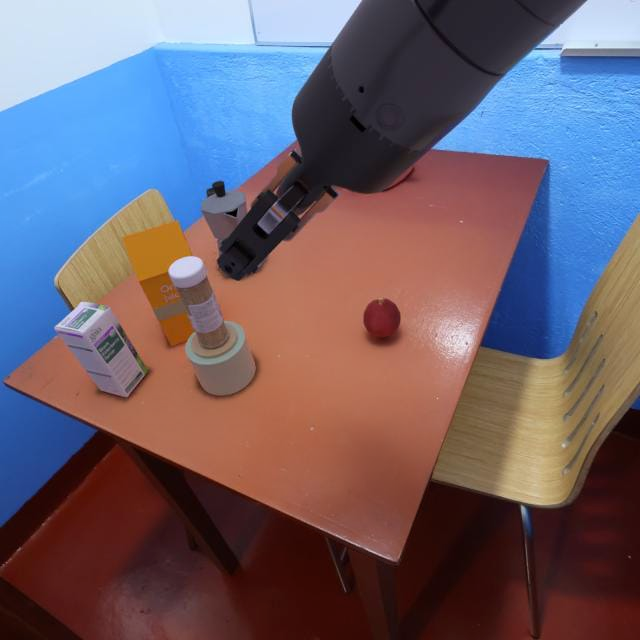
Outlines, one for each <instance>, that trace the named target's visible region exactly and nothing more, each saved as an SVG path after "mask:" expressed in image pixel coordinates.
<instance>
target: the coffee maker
mask: <svg viewBox="0 0 640 640" xmlns="http://www.w3.org/2000/svg"><path fill="white" fill-rule="evenodd" d="M205 192H206V197H205V198H204V199H202V200H201V207H200V212H201V213H202V216H203V217H204V219H205V221H206V223H207V225H208V227H209V230H210V231H211V234H212V236H213V238H214V239H217V240H216V243H217V244H216V245H217V249H218V257H219V256H220V255H221V254H222V252H221V251H220V250H219V248H220V247H221V246H222V244H221V242H222V241H223V240H224V239H225V238H228V237H229V236H230V234H231V233H232V232H233V231H234V229H235V228H236V227H237V226H238V224H239V223H240V222H241V220H242V219H243V218H244V217H245V215H246V214H247V213H248V207H247V199H246V198H247V197H246V192H243V191H239V190H236V189H227V190H226V187H225V181H223V180H218V181H215V182H213V183H211V187H209V188H207V189H206V191H205ZM263 263H264V261H262V262H261V263H260V264H259V265H258V266H257V267H259V268H258V269H257V270H256V272H255V273H257V272H259V270H260V268H261V267H262V265H263ZM221 271H222V272H223V274H224V276H226V277H227V278H230V277H229V276H228V275H227V274H226V273H225V272H224V271H223V270H221ZM252 274H254V273H253V272H251V274H250V275H252ZM245 277H248V276H247V275H245V276H244V277H243V278H245Z"/></svg>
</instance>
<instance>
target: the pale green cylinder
mask: <svg viewBox="0 0 640 640" xmlns="http://www.w3.org/2000/svg"><path fill="white" fill-rule="evenodd" d="M223 321H224V323H225V326H226V328H227V329H228V332H229V338H228V340H227V341H226V342H225V343H224V344H223V345H221V346H219V347H216V348H212V349H209V348H204V347H203V346H201V345H200V343H199V339H198V336H197V334H196V332H194V333H193V334H192V335H191V336H190V337H189V339H188V340H187V341H186V343H185V346H184V347H185V348H184V352H185V355H186V358H187V360H188V362H189V363H190V365H191V368H192V370H193V371H194V374H195V376H196V378H197V380H198V382H199V385H200V386H201V388H202V389H203V390H204V392H206V393H207V394H209V395H213V396H216V397H217V396H219V397H221V396H229V395H233V394H236V393H238V392H240V391H242V390H243V389H244V388H246V387H247V386H248V385H249V384H250V383H251V382H252V381H253V379H254V378H255V374H256V370H257V366H256V363H255V359H254V356H253V353H252V351H251V348H250V344H249V342H248V339H247V335H246V332H245V330H244V328H243V327H242V326H241V325H240V324H238V323H237V322H234V321H230V320H223Z"/></svg>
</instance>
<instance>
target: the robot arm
mask: <svg viewBox="0 0 640 640" xmlns="http://www.w3.org/2000/svg"><path fill="white" fill-rule="evenodd" d="M586 2H588V0H361V1H360V2H359V4H358V5H357V7H356V9H355V10H354V11H353V13H352V14H351V15H350V16H349V19H348V20H347V21H346V22H345V24H344V25H343V27H342V29H341V30H340V32H339V33H338V34H337V36H336V37H335V39H334V40H333V42H332V43H331V45H330V46H329V47H328V48H327V50H326V52H325V53H324V55H323V56H322V57H321V59H320V61H319V62H318V63H317V65H316V66H315V68H314V69H313V70H312V72H311V73H310V75H309V76H308V78H307V79H306V81H305V82H304V84H303V85H302V87H301V88H300V89H299V91H298V92H297V94H296V96H295V98H294V100H293V102H292V107H291V124H292V129H293V132H294V135H295V138H296V141H297V143H298V146H299V148H298V150H299V151H298V150H297V149H296V148H293V149H292V150H291V151H290V152H289V153H288V154H287V155H286V156H285V157H284V158H283V160H282V161H281V162H280V163H279V164H278V166H277V168H276V174H275V175H274V176H273V177H272V179H270V181H269V182H268V183H267V184H266V185H265V186H264V188H262V190H261V191H260V192H259V193H258V194H257V196H256V197H255V198H254V199H253V200H252V201H251V203H250V209H249V210H248V211H247V214H246V215H245V217H244V218H243V219H242V220H241V222H240V223H239V224H238V226H237V227H236V228H235V229H234V231H233V232H232V233H231V234H230V236H229V237H228V238H225V239H224V240H223V241H222V242H221V244H222V246H221V247H220V248H219V250H220V251H221V252H222V254H221V255H220V256H219V255H218V258H217V259H216V264H217V267H218V268H219V269H220V270H221V271H222V270H223V271H224V272H225V273H226V274H227V275H228V276H229V277H228V278H230V279H231V280H234V281H237V282H240V281H241V280H242V279H243V278H245V277H244V276H245V275H247V276H246V277H248V276H250V275H252V274H255V273H257V272H256V270H257V269H258V268H259V267H257V266H258V265H259V264H260V263H261V262H262V261H263V262H265V261H266V260H267V259H268V258H269V256H270V254H271V253H272V252H273V251H274V250H275V249H276V248H277V247H278V246H279V245H280V244H281V243H282V242H287V243H288V242H291V241H292V240H293V239H295V237H296V236H297V235H298V234H299V233H300V232H301V231H302V230H303V229H304V227H305V226H306V225H308V223H309V222H310V221H311V220H312V219H313V218H315V216H316V215H317V214H319V213H323V212H325V211H326V210H327V209H328V208H329V207H330V206H331V205H332V204H333V203H334V201H335V200H336V199H337V198H338V197H339V196H340V192H339V191H342V190H344V189H345V190H347V191H349V192H353V193H356V194H361V195H373V194H379V193H380V192H383V191H384V190H385V191H386V190H387V189H386V188H388V187H389V186H390V185H391V184H392V183H393V182H394V181H396V180H397V179H398V178H399V177H400V176H401V175H402V174H403V173H405V172H406V171H407V170H408V169H409V168H410V167H411V166H412V165H413V166H414V165H415V164H416V163H417V162H418V161H420V159H421V158H423V157H424V156H425V155H426V154H427V153H428V152H430V150H432V149H433V148H434V147H435V146H437V144H439V143H440V142H441V141H442V140H443V139H444V138H445V137H446V136H448V134H449V133H450V132H452V131H453V130H454V129H456V127H457V126H458V125H460V124H461V123H462V122H463V121H464V120H465V119H466V118H468V116H469V115H470V114H472V113H473V112H474V111H475V110H476V108H478V107H479V106H480V104H481V103H482V102H483V101H484V99H485V98H486V97H487V96H488V95H489V94H490V93H491V91H493V89H494V88H496V86H497V84H499V82H501V80H502V79H504V77H505V76H507V75H508V73H510V72H511V71H512V70H514V68H516V67H517V66H518V65H519V64H520V63H521V62H523V60H524V59H526V57H528V56H529V55H530V54H531V53H532V52H533V51H535V50H536V49H537V48H538V46H540V45H541V44H542V43H543V42H544V41H545V40H546V39H547V38H549V37H550V36H551V35H552V34H553V33H554V32H555V31H556V30H558V29H559V28H560V27H561V25H563V24H564V23H565V22H566V21H567V20H568V19H570V18H571V17H572V16H573V15H574V14H575V13H576V12H577V11H578V10H579V9H581V7H583V6H584V5H585V3H586ZM388 189H389V188H388ZM275 191H276V193H274V192H275ZM299 216H301V217H299ZM259 269H260V268H259ZM223 271H222V272H223ZM224 272H223V273H224ZM251 272H253V273H252V274H251ZM225 273H224V274H225Z"/></svg>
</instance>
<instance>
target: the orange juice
mask: <svg viewBox="0 0 640 640" xmlns="http://www.w3.org/2000/svg"><path fill="white" fill-rule="evenodd" d="M121 240H122V242H123V245H124V248H125V250H126V253H127V255H128V258H129V260H130V263H131V265H132V268H133V270H134V273H135V275H136V278H137V282H138V283H139V285H140V287H141V289H142V291H143V293H144V295H145V297H146V299H147V301H148V303H149V305H150V307H151V309H152V312H153V314H154V315H155V318H156V319H157V321H158V322H159V324H160V327H161V328H162V331H163V332H164V334H165V336H166V338H167V341H168V342H169V345H170V346H171V347H174V346H176V345H179V344H181V343H185V342H187V341H188V339H189V337H190V336H191V335H192V334H193V333H194V332H195V330H194V328H193V326H192V324H191V322H190V319H189V317H188V315H187V312H186V310H185V307H184V304H183V302H182V300H181V297H180V295H179V293H178V290H177V288H176V287H175V285H174V284H173V283H172V280H171V278H170V276H169V273H168V271H169V268H170V266H171V265H172V264H173V263H174V262H175V261H177V260H179V259H181V258H184V257H189V256H194V255H193V253H192V250H191V248H190V246H189V243H188V240H187V238H186V237H185V234H184V231H183V229H182V226H181V225H180V221H179V220H178V219H177V220H174V221H170V222H168V223H164V224H161V225H157V226H154V227H151V228H148V229H145V230H141V231H137V232H134V233H132V234H128V235H125V236H122V237H121Z"/></svg>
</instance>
